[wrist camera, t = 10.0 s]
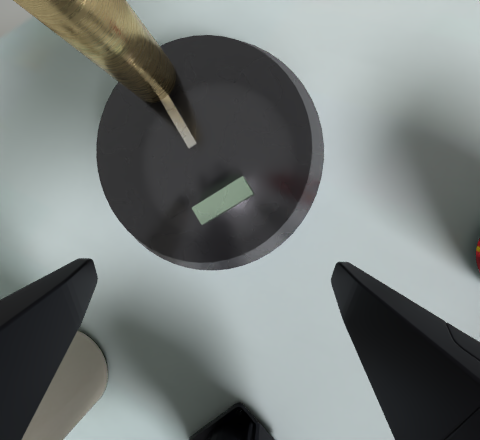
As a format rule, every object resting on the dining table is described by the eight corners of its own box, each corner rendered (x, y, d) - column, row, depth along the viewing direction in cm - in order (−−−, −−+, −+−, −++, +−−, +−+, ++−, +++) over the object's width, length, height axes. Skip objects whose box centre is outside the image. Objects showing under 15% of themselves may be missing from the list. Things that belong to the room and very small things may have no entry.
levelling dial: (308, 259, 16) (354, 340, 7) (116, 255, 18) (-56, 313, 9) (309, 39, 15) (366, -233, 6) (106, 61, 17) (-100, -112, 8)
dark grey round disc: (208, 299, 20) (197, 315, 17) (89, 160, 21) (59, 153, 18) (362, 169, 18) (379, 162, 15) (221, 16, 19) (211, -19, 16)
